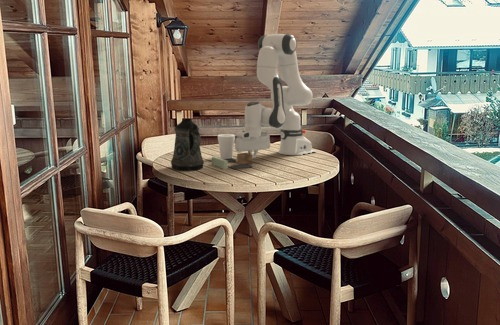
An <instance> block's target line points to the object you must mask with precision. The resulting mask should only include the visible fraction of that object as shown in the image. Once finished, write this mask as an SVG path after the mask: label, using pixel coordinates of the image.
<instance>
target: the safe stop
mask: <svg viewBox="0 0 500 325" xmlns="http://www.w3.org/2000/svg"><path fill="white" fill-rule="evenodd" d="M211 164H212V165H213V166H216V167H218V168H221V169H223V170H226V169H227V170H228V169H229V165H228V164H229V163H228V161H227V160H224V159H221V157H218V156H216V155H214V156H211Z"/></svg>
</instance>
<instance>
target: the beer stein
mask: <svg viewBox="0 0 500 325" xmlns="http://www.w3.org/2000/svg"><path fill="white" fill-rule="evenodd" d="M173 129H174V133H175V140H174V147H173V153H172V158H171V161H170V164H171V167H172V170H173V169H174V171H176V172H177V171H179V172H193V171H194V172H195V171H199V170H201V169H203V168H204V163H205V161H204V159H203V156H202V152H201V151H202V150H201V141H202V136H201V134H200V131H199V130H200V128H199V126H198V125H197V124H196V123H195V122H194V121H193V120H192V118H183V119H181V121H180V122H179V123H177V124H176V126H175V127H174V128H173Z"/></svg>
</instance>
